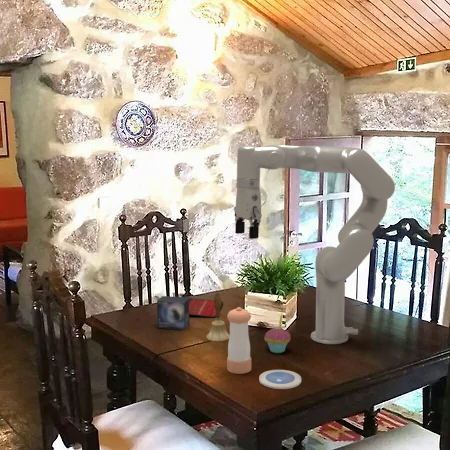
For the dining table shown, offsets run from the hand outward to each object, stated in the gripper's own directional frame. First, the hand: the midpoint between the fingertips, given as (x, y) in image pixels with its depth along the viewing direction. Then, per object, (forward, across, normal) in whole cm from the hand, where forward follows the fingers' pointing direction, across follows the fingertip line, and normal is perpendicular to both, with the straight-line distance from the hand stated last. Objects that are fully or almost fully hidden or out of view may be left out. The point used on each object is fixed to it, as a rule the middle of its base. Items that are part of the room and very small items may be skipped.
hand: (246, 235), depth 209 cm
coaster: (+36, -34, +6) cm, 50 cm away
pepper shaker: (+36, -21, +12) cm, 44 cm away
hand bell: (+37, +7, +6) cm, 38 cm away
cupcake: (+36, -13, -6) cm, 39 cm away
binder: (+37, +39, -1) cm, 54 cm away
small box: (+37, +25, +16) cm, 47 cm away
